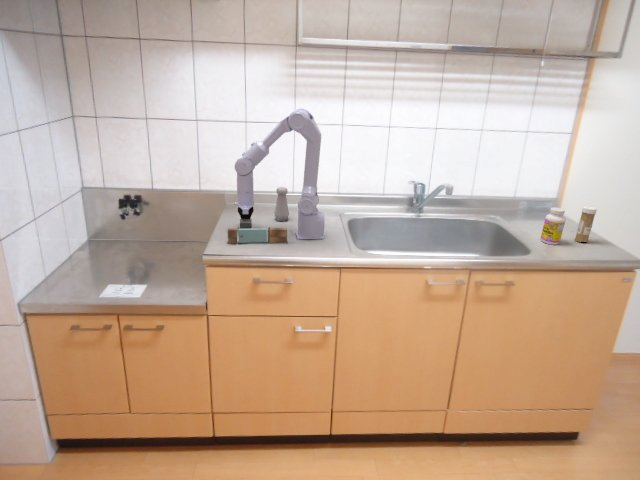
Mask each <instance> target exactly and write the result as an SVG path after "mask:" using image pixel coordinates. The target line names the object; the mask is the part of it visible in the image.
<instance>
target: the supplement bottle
mask: <svg viewBox="0 0 640 480" xmlns="http://www.w3.org/2000/svg"><path fill="white" fill-rule="evenodd" d="M549 212H550V213H549V214H547V215H546V216H545V219H544V223H543V227H542V230H541V235H540V241H541V242H542V243H544V244H547V245H553V246H555V245H556V246H557V245H559V244H560V243H561V239H562V236H563V235H562V234H563V231H564V228H565V223H566V217H565V216H564V215H565V212H566V211H565V209H564V208H561V207H553V206H552V207H550V210H549Z"/></svg>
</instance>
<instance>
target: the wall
mask: <svg viewBox="0 0 640 480" xmlns="http://www.w3.org/2000/svg"><path fill="white" fill-rule="evenodd" d="M267 230H268V232H267V243H269V244H288V228H287V227H270V226H269V227H268V228H267ZM227 245H238V229H237V228H234V227H233V228H227Z"/></svg>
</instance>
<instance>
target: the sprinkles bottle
mask: <svg viewBox="0 0 640 480" xmlns="http://www.w3.org/2000/svg"><path fill="white" fill-rule="evenodd" d="M597 210H598V209H597V207H594V206H590V205H585V206H582V208H581V215H580V218H579V222H578V226H577V229H576V233H575V238H574V241H575V240H576V241H578V242H577V243H579V242H587V243H589V237H590V235H591V231H592V228H593V224H594V219H595V215H596V214H597ZM576 241H575V242H576Z"/></svg>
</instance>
